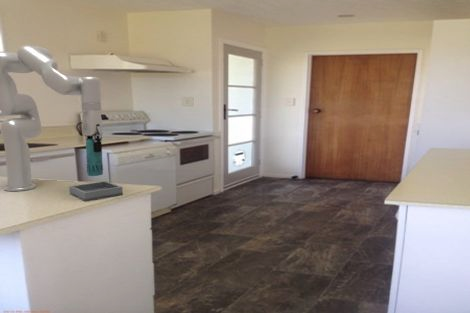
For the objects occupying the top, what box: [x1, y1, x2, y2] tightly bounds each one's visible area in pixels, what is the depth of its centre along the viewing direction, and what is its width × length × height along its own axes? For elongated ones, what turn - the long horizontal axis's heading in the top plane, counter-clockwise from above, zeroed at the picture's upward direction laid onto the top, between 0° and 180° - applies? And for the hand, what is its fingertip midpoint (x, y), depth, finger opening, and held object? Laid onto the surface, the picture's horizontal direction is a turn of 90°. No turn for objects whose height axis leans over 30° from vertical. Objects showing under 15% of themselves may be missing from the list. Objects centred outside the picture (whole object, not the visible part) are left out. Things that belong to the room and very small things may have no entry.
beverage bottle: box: [85, 135, 104, 177], centre depth 162 cm, size 6×7×20 cm
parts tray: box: [69, 180, 123, 202], centre depth 164 cm, size 16×16×4 cm
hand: (94, 150), depth 162 cm, fingers closed on beverage bottle, 6 cm apart
